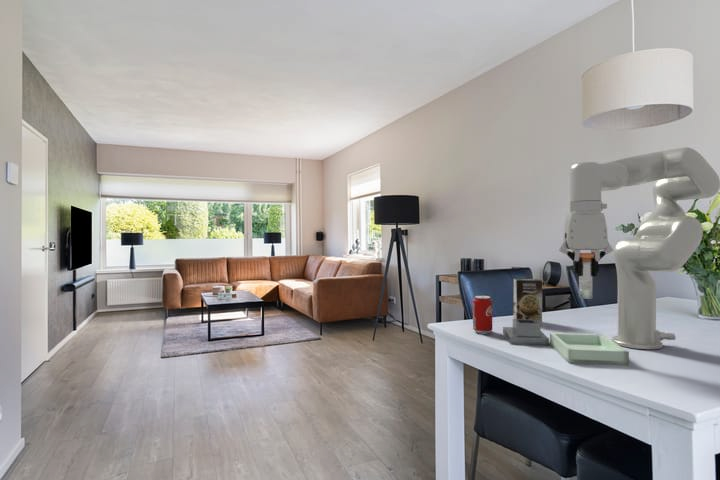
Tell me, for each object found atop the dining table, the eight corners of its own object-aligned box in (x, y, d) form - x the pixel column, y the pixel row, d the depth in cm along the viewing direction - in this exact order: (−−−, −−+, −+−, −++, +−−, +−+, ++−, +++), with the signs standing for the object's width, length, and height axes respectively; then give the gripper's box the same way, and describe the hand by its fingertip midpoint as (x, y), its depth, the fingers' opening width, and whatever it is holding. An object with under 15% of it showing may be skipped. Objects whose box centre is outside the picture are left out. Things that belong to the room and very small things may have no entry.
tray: (601, 346, 123) (601, 334, 123) (628, 365, 105) (628, 351, 105) (550, 344, 125) (550, 333, 125) (568, 363, 108) (568, 349, 108)
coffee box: (516, 324, 154) (516, 280, 154) (513, 320, 161) (512, 278, 161) (542, 324, 153) (542, 280, 153) (538, 321, 159) (538, 278, 159)
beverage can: (493, 334, 139) (493, 298, 139) (473, 333, 140) (473, 297, 140) (491, 330, 145) (491, 295, 145) (472, 329, 146) (472, 295, 146)
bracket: (537, 334, 139) (537, 315, 139) (548, 345, 125) (548, 324, 125) (503, 332, 141) (502, 315, 141) (510, 343, 127) (509, 323, 127)
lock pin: (591, 296, 117) (591, 252, 117) (597, 299, 112) (597, 253, 112) (574, 296, 118) (574, 252, 117) (579, 298, 113) (579, 253, 113)
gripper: (612, 208, 117) (612, 274, 117) (549, 209, 120) (549, 274, 120) (624, 207, 110) (624, 277, 110) (557, 208, 113) (557, 276, 113)
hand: (585, 275), depth 115 cm, fingers closed on lock pin, 3 cm apart
